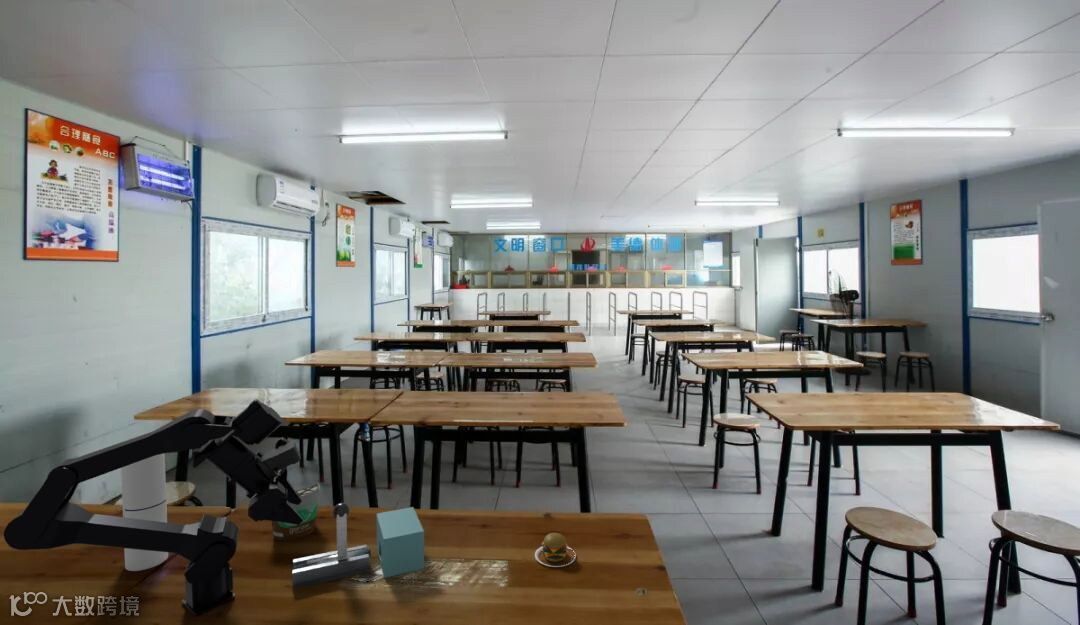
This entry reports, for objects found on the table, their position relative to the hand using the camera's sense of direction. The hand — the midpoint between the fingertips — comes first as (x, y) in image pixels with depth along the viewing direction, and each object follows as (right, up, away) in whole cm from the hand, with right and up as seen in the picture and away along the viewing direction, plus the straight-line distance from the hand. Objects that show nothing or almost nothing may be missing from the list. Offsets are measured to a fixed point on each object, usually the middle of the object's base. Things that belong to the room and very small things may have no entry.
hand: (300, 512), depth 97 cm
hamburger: (+51, -14, +9) cm, 54 cm away
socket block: (+17, -13, +8) cm, 23 cm away
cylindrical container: (-36, -13, +6) cm, 38 cm away
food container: (-9, -13, +18) cm, 24 cm away
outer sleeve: (+6, -13, +3) cm, 15 cm away
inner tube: (+6, -12, +3) cm, 14 cm away
